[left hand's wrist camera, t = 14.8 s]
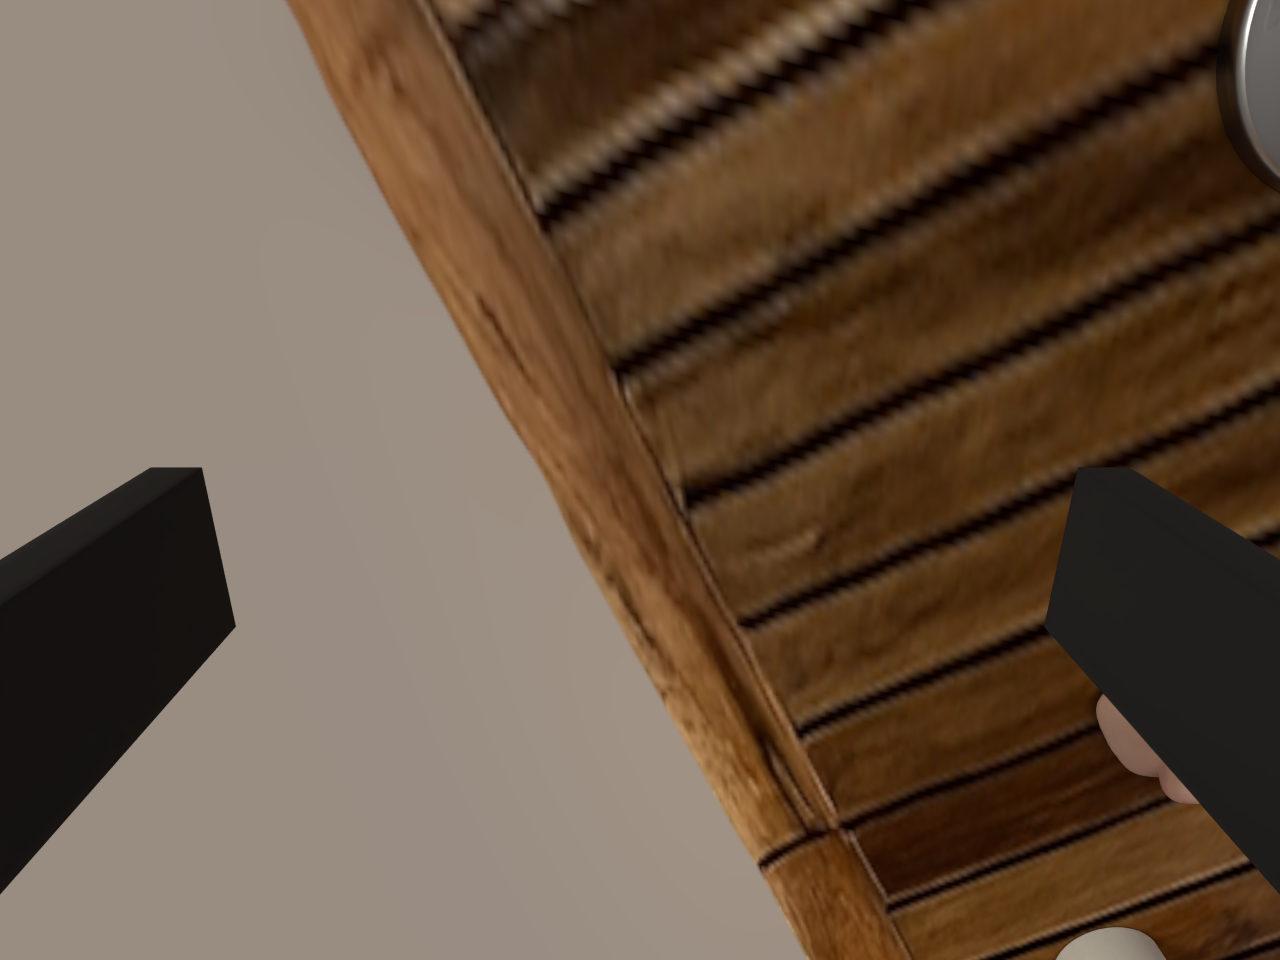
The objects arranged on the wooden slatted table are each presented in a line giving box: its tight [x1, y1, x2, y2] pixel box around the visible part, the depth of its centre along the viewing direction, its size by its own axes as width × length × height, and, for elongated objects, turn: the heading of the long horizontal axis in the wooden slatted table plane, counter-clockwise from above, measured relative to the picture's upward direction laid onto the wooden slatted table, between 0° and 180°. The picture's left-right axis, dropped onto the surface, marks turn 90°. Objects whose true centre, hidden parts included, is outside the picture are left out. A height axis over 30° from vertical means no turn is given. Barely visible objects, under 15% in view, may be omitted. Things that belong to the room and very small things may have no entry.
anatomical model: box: [1096, 694, 1200, 804], centre depth 48 cm, size 13×4×12 cm
